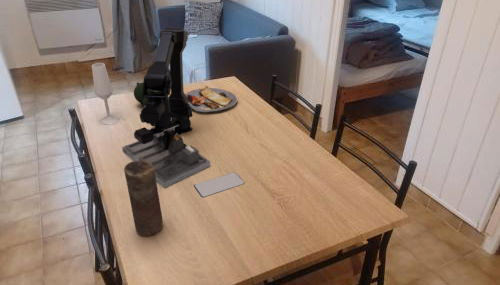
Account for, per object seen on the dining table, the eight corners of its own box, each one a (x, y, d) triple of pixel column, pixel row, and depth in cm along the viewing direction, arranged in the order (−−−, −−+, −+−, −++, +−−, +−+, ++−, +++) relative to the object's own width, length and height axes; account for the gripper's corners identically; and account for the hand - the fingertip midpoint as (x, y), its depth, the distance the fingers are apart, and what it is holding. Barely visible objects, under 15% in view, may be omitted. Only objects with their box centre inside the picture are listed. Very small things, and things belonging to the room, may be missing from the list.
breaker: (192, 156, 126) (191, 144, 124) (199, 161, 124) (198, 148, 121) (182, 161, 124) (181, 148, 121) (189, 166, 121) (188, 153, 119)
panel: (166, 135, 143) (165, 129, 141) (210, 166, 125) (209, 159, 124) (123, 151, 132) (121, 145, 131) (164, 188, 115) (163, 180, 113)
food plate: (172, 100, 170) (172, 93, 168) (212, 88, 184) (212, 81, 182) (205, 120, 155) (205, 113, 153) (246, 105, 169) (246, 98, 167)
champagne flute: (117, 115, 156) (107, 61, 144) (118, 122, 151) (107, 66, 138) (101, 118, 154) (88, 63, 142) (101, 125, 149) (88, 68, 136)
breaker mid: (177, 144, 133) (176, 132, 130) (183, 149, 130) (182, 136, 128) (168, 148, 131) (166, 136, 128) (174, 153, 128) (172, 140, 125)
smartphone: (193, 185, 116) (235, 171, 123) (193, 186, 116) (235, 173, 123) (201, 197, 111) (245, 183, 117) (202, 199, 111) (245, 184, 118)
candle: (138, 217, 103) (127, 158, 93) (164, 216, 104) (156, 157, 94) (133, 237, 97) (120, 176, 86) (161, 236, 97) (152, 175, 87)
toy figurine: (174, 120, 157) (148, 96, 172) (172, 80, 146) (144, 58, 162) (154, 126, 152) (129, 101, 167) (150, 85, 141) (123, 62, 156)
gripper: (172, 94, 130) (176, 132, 138) (122, 109, 119) (130, 150, 127) (190, 104, 123) (193, 144, 131) (139, 121, 112) (146, 163, 120)
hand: (165, 149), depth 127 cm, fingers closed
